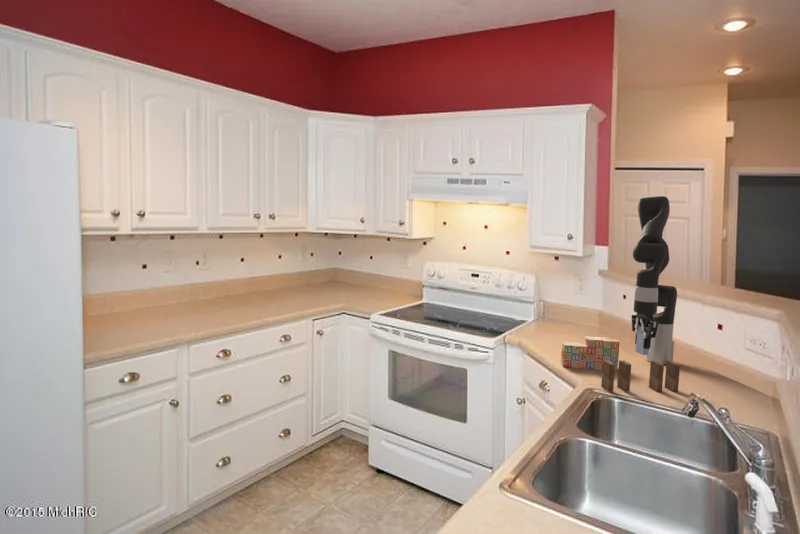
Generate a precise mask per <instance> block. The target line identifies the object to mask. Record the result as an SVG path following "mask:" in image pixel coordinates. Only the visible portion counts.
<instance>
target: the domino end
mask: <svg viewBox="0 0 800 534" xmlns="http://www.w3.org/2000/svg"><path fill="white" fill-rule="evenodd" d="M615 372H616V371H615V364H614V363H612V362H610V361H609V360H603V368H602V370H601V385H600V387H603V388H604V389H605V390H604V389H603V388H602V389H603V390H604V391H606V390H607V391H613V392H614V386H615V385H614V382H615ZM607 391H606V392H607Z"/></svg>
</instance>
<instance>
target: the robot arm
mask: <svg viewBox="0 0 800 534" xmlns="http://www.w3.org/2000/svg"><path fill="white" fill-rule="evenodd" d="M637 210H638V211H637V212H638V216H639V217H638V219H639V224H640V228H641V233H640V234H641V235H640V239H639V240H638V241H637V242H636V244H635V245H634V247H633V250H632V258H633V260H634V261H635V262H637V263H639V264H640V263H642V264H645V269H641V270H640V269H639V270H638V271H637V272H636V281H635V282H636V284H635V286H636V287H635V290H634V300H633V302H634V303H633V312H634V313H636V314H632V315H631V316H630V317H631V331H632V332H634V335H635V340H634V345H636V340H637V330H638V325H639V326H641V327H642V331H643V332H644V343H643V348H644V349H649V352H648V355H646V361H647V362H650V363H651V361H658V362H660V363H662V364H664V365H666V363H667V361H673V362H674V352H675V351H674V349H675V341H674V340H673V335H674V323H675V316H676V315H675V314H676V305H677V297H678V290H677V287H675V286H674V285H673V286H672V285H662V284H659V279H660V275H661V274H662V273H663V271H664V270H665V269H666V268H667V267H668V264H669V263H670V252H669V245H668V243H667V242H666V241H665V239H664V238H663V233H664V229H665V226H666V224H667V222H668V219H669V218H670V217H669V216H670V201H669V198H668V197H667V196H666V195H665V196H659V195H658V196H649V197H647V196H646V197H641V198H640V199H639V200H638V202H637ZM658 307H663V308H664V310H663V311H661V312H658ZM645 327H649V328H648V329H645ZM647 332H648V333H647Z"/></svg>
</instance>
